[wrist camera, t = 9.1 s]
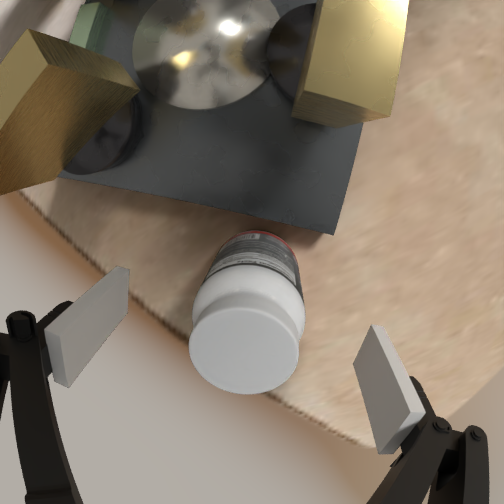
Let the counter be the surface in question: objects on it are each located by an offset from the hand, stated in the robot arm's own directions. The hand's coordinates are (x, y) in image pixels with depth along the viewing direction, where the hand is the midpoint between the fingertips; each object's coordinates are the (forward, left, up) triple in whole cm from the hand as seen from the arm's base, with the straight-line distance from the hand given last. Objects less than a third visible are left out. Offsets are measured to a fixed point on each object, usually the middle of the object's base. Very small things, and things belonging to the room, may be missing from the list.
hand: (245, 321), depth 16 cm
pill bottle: (0, 0, -7) cm, 7 cm away
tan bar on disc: (-8, -12, -5) cm, 15 cm away
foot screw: (-14, +1, -5) cm, 15 cm away
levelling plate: (-14, -6, -7) cm, 17 cm away
